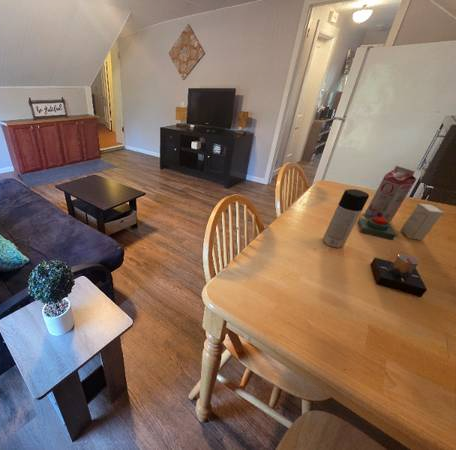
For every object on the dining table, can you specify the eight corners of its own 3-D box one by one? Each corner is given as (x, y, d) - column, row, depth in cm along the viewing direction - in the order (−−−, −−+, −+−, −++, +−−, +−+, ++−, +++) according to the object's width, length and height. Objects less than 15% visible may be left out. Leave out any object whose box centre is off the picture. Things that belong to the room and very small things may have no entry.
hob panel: (410, 275, 75) (416, 267, 73) (420, 297, 67) (427, 289, 66) (370, 264, 79) (374, 256, 77) (376, 284, 71) (381, 276, 70)
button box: (387, 228, 98) (392, 220, 95) (393, 239, 91) (398, 231, 89) (357, 222, 102) (361, 213, 100) (360, 232, 95) (365, 223, 93)
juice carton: (378, 222, 101) (408, 172, 90) (363, 215, 107) (389, 166, 95) (391, 221, 103) (421, 170, 91) (375, 213, 108) (402, 165, 97)
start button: (383, 221, 95) (385, 218, 94) (385, 226, 92) (387, 222, 91) (372, 219, 96) (374, 215, 96) (373, 223, 94) (376, 219, 93)
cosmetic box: (399, 230, 97) (417, 202, 90) (412, 231, 96) (431, 204, 89) (410, 239, 91) (429, 210, 85) (423, 240, 91) (444, 212, 84)
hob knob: (387, 265, 74) (397, 251, 71) (406, 269, 72) (416, 256, 70) (391, 274, 71) (401, 260, 68) (411, 279, 69) (422, 265, 66)
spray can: (348, 247, 87) (375, 196, 76) (331, 249, 86) (356, 197, 75) (333, 236, 92) (357, 187, 82) (317, 238, 91) (339, 188, 81)
